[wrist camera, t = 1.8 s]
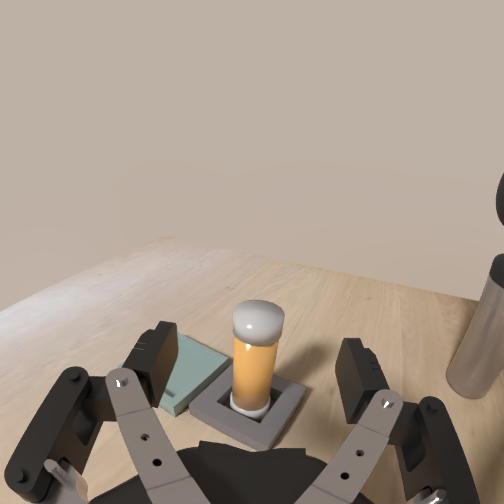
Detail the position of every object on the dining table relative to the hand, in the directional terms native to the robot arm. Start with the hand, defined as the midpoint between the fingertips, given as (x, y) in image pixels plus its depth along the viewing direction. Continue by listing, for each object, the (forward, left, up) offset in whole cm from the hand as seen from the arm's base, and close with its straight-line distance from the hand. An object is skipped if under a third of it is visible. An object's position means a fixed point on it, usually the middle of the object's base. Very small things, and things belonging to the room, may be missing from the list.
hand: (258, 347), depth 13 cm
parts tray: (-9, -16, -19) cm, 27 cm away
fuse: (-10, -5, -19) cm, 22 cm away
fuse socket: (-10, -5, -19) cm, 22 cm away
